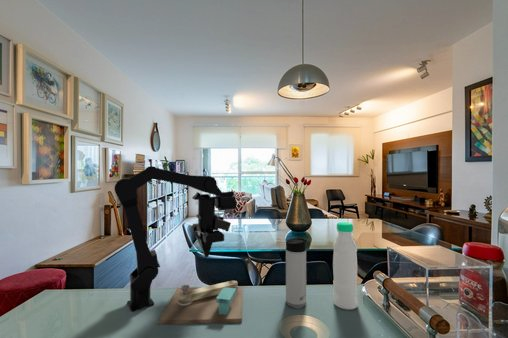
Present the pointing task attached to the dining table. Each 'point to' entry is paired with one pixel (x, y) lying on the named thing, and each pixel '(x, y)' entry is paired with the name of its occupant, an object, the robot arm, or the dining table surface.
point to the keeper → (222, 300)
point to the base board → (201, 310)
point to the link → (203, 291)
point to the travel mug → (296, 272)
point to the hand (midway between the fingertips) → (206, 256)
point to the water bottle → (345, 268)
